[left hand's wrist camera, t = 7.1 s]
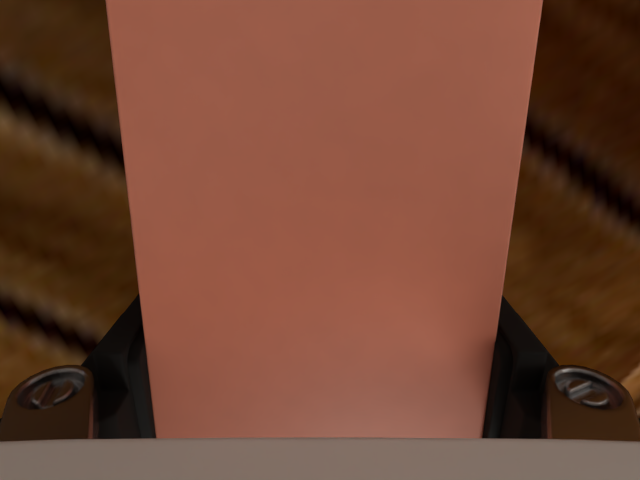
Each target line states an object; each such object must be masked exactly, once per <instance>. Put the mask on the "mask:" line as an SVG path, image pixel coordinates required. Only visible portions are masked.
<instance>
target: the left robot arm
mask: <svg viewBox="0 0 640 480" xmlns="http://www.w3.org/2000/svg"><path fill="white" fill-rule="evenodd" d="M0 480H640V419H639V418H638V416H637V412H636V409H635V406H634V402H633V399H632V397H631V395H630V394H629V392H628V391H627V390H626V389H625V388H624V387H623V386H622V385H621V384H620V383H619V382H617V381H616V380H614V379H613V378H611V377H610V376H608V375H606V374H603V373H601V372H599V371H597V370H594V369H590V368H587V367H583V366H576V365H561V366H559V365H558V363H557V362H556V361H555V360H554V358H553V357H552V356H551V355H550V353H549V352H548V351H547V350H546V348H545V347H544V346H543V345H542V343H541V342H540V341H539V340H538V338H537V337H536V336H535V335H534V333H533V332H532V331H531V330H530V328H529V327H528V326H527V325H526V323H525V322H524V321H523V320H522V318H521V317H520V316H519V315H518V314H517V313H516V312H515V310H514V309H513V308H512V307H511V305H510V304H509V303H508V302H507V300H506V299H505V298H504V297H503V295H502V298H501V306H500V313H499V320H498V327H497V335H496V342H495V346H494V354H493V361H492V369H491V377H490V385H489V392H488V399H487V407H486V414H485V421H484V428H483V435H482V438H380V437H261V438H156V434H155V425H154V416H153V408H152V399H151V390H150V382H149V373H148V364H147V356H146V347H145V338H144V330H143V321H142V312H141V304H140V295H139V294H138V296H137V297H136V298H135V300H134V301H133V302H132V303H131V305H130V306H129V307H128V308H127V310H126V311H125V312H124V313H123V314H122V315H121V316H120V317H119V319H118V320H117V321H116V322H115V324H114V325H113V326H112V327H111V329H110V330H109V331H108V332H107V334H106V335H105V336H104V337H103V339H102V340H101V341H100V342H99V344H98V345H97V346H96V347H95V349H94V350H93V351H92V352H91V354H90V355H89V356H88V357H87V359H86V360H85V361H84V362H83V364H82V365H81V366H79V365H64V366H57V367H53V368H50V369H46V370H43V371H41V372H39V373H37V374H34V375H32V376H30V377H29V378H27V379H26V380H24V381H23V382H21V383H20V384H19V385H18V386H17V387H16V388H15V389H14V390H12V392H11V394H10V395H9V397H8V399H7V402H6V406H5V409H4V412H3V416H2V418H1V419H0Z"/></svg>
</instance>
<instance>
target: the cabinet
mask: <svg viewBox="0 0 640 480" xmlns="http://www.w3.org/2000/svg"><path fill="white" fill-rule="evenodd" d="M542 3H543V0H106V8H107V17H108V25H109V34H110V43H111V52H112V60H113V69H114V78H115V86H116V95H117V104H118V112H119V121H120V130H121V138H122V147H123V156H124V164H125V173H126V182H127V191H128V199H129V208H130V217H131V225H132V234H133V243H134V251H135V260H136V269H137V277H138V286H139V295H140V304H141V312H142V321H143V330H144V338H145V347H146V356H147V364H148V373H149V382H150V390H151V399H152V408H153V416H154V425H155V434H156V438H261V437H380V438H482V435H483V428H484V421H485V414H486V407H487V399H488V392H489V385H490V377H491V369H492V361H493V354H494V346H495V342H496V335H497V327H498V320H499V313H500V306H501V298H502V291H503V284H504V277H505V270H506V262H507V255H508V248H509V241H510V234H511V226H512V219H513V212H514V205H515V198H516V190H517V183H518V176H519V169H520V162H521V154H522V147H523V140H524V133H525V126H526V118H527V111H528V104H529V97H530V90H531V82H532V75H533V68H534V61H535V54H536V46H537V39H538V32H539V25H540V17H541V10H542Z"/></svg>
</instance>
